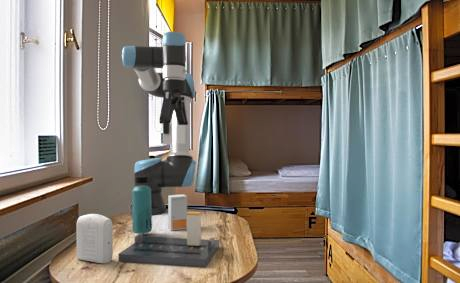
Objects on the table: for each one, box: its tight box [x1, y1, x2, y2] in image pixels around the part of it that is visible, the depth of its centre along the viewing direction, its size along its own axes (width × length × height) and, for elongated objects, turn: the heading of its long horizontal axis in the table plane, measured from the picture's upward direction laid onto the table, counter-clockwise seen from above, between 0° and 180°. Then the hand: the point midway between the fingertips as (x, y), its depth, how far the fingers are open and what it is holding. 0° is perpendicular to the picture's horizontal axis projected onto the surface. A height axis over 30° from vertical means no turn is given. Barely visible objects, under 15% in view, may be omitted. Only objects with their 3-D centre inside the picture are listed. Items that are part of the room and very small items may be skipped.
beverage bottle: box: [131, 176, 153, 235], centre depth 114 cm, size 6×7×20 cm
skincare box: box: [167, 193, 188, 232], centre depth 122 cm, size 6×4×12 cm
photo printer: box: [75, 213, 114, 264], centre depth 92 cm, size 10×4×12 cm, turn 69°
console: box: [117, 234, 220, 268], centre depth 96 cm, size 16×24×4 cm, turn 79°
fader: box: [186, 211, 202, 246], centre depth 97 cm, size 2×4×9 cm, turn 79°
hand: (174, 144), depth 113 cm, fingers open, 13 cm apart
